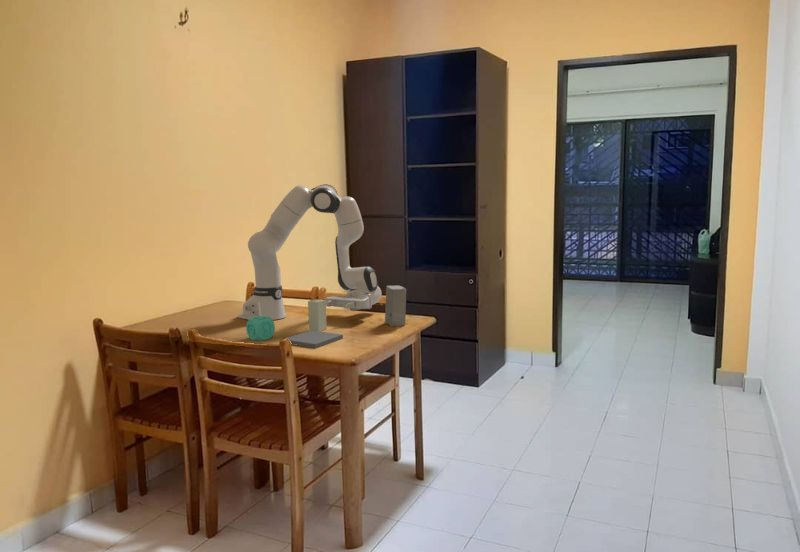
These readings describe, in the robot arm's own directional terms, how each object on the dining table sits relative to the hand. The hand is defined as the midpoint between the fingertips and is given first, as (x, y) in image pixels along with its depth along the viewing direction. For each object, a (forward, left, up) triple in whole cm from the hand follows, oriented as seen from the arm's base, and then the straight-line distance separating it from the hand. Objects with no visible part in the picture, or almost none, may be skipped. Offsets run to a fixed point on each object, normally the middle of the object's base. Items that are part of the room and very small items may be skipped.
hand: (336, 305), depth 257 cm
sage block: (0, -12, -8) cm, 15 cm away
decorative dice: (-11, -33, -8) cm, 36 cm away
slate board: (+10, -27, -8) cm, 30 cm away
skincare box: (+23, +11, -8) cm, 27 cm away
